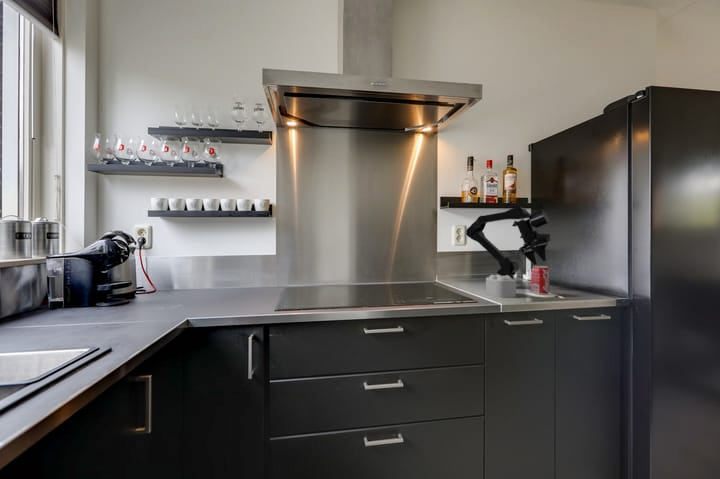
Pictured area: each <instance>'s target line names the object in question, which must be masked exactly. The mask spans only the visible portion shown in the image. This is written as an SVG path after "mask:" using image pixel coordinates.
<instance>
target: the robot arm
mask: <svg viewBox="0 0 720 479" xmlns="http://www.w3.org/2000/svg"><path fill="white" fill-rule="evenodd" d="M505 220H514V222H513V224H512V225H511V226H512V227H517V228H518V230H519V233H520V236H519V237H520V239H522V240H523V244H522V246H520V247H519V249H518V252H519V254H521V255H523V257H525V258H526V259H527V260H528V261H530V263H531V264H533V266H536V265H537V260H536V256H535V254H537V256H538V257H539V258H540V260H542V262H546V260H547V259H546V247H547V246H548V245H549V243H550V242H551V235H550V234H549V233H538V231H537V230H534V228H536V229H537V228H540V227H544V226H546V225H548V224H549V225H550V223H551V222H550V218H549V216H548V215H547V214H546V212H545V211H544V210H542V209H541V210H539V211H537V212H534V213H530V212H528V210H527V209H526V208H524V207H519V206H518V207H517V206H515V207H512V208H510V209H509V210H506V211H503V212H498V213H491V214H486V215H479V216H478V217H477V218H476V220H475V221H473V222H472V224H471V225H470V226H468V228H467V229H466V232H465V234H466V236H467V237H468V238H470V239H471V240H473V241H475V242H477V243H478V244H479V245H480V246H481V247H482V248H484V249H485V250H486V252H488V253H489V254H490V255H491V256H492V257H493V258H494V259H495V261H497V263H498V265H499V266H500V269H498V270H497V271H496V273H497V275H501V276H506V275H508V276H510V277H511V278H512V279H514V280H516V278H515V275H516V273H517V272H518V271H519V270H520V263H518V262H519V261H518V260H516V259H515V257H514V256H512V255H509V256H507V255H505V254H504V253H503V252H502V251H501V250H500V249H498V247H496V245H494V243H492V242H491V241H490V240H489V239H488V238H487V237H486V235H485V233H484V229H485V227H486V224H487V223H494V222H500V221H505ZM518 220H519V221H518Z"/></svg>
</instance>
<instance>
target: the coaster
mask: <svg viewBox="0 0 720 479" xmlns="http://www.w3.org/2000/svg"><path fill="white" fill-rule="evenodd" d="M551 293H552V292H549V293H548V294H546V295H539V294H534V293H533V292H531V291H527V292H526V293H525V294H526V296H529V297H535V298H545V299H546V298H556V296H555V295H556V294H555V295H554V293H552V294H551Z"/></svg>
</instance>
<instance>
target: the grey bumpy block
mask: <svg viewBox="0 0 720 479" xmlns="http://www.w3.org/2000/svg"><path fill="white" fill-rule="evenodd" d="M514 279H515V278H514ZM514 279H512V278H511V277H510V276H508V275H506V276H501V275H498V274H495V275H494V274H491V275H489V276H487V277H485V294H486V295H487V296H490V297H493V298H498V297H500V298H499V299H501V298H502V299H507V297H514V298H517V280H516V279H515V280H514Z"/></svg>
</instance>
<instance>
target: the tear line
mask: <svg viewBox="0 0 720 479" xmlns="http://www.w3.org/2000/svg"><path fill="white" fill-rule="evenodd" d="M550 293H551V294H554V293H553V292H550ZM554 295H555V297H558V298H560V299H565V297H564V296H561V295H558V294H556V293H555V294H554Z"/></svg>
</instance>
